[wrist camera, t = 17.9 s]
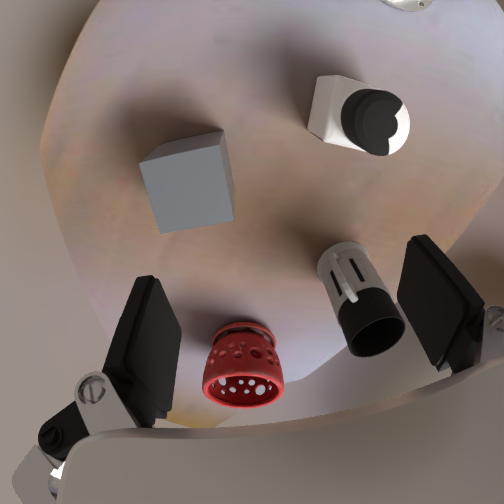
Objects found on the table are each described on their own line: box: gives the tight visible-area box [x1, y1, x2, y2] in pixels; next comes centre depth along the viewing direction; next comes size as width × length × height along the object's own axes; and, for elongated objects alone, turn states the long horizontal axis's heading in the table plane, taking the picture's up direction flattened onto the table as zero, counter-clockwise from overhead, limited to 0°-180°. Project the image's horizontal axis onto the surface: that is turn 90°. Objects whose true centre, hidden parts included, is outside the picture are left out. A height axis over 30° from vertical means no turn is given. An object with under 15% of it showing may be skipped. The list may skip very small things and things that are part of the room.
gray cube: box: [139, 130, 234, 234], centre depth 29 cm, size 8×8×9 cm
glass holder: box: [317, 241, 405, 357], centre depth 35 cm, size 9×14×15 cm, turn 37°
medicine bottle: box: [307, 75, 410, 156], centre depth 25 cm, size 7×7×12 cm
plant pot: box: [202, 322, 284, 408], centre depth 46 cm, size 13×13×12 cm
